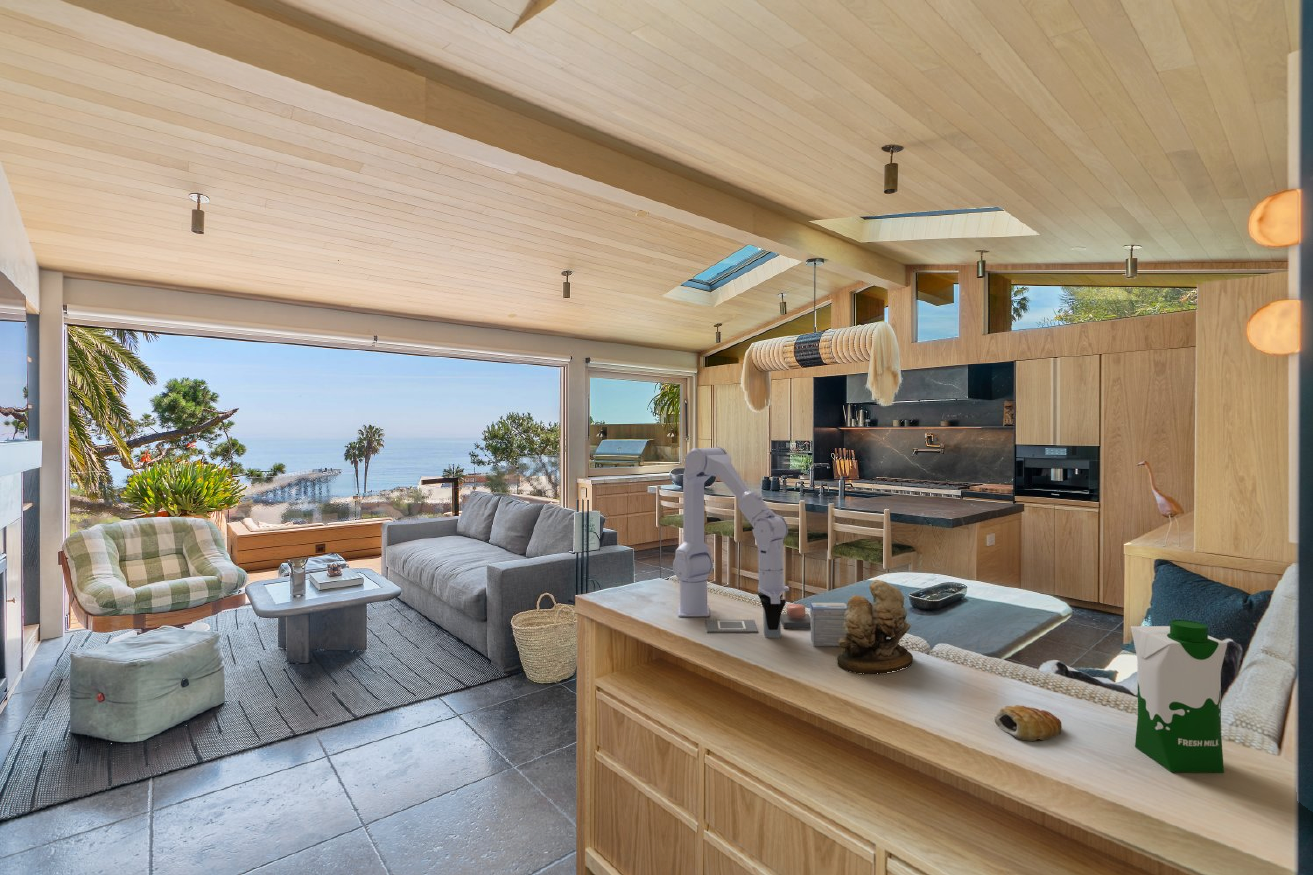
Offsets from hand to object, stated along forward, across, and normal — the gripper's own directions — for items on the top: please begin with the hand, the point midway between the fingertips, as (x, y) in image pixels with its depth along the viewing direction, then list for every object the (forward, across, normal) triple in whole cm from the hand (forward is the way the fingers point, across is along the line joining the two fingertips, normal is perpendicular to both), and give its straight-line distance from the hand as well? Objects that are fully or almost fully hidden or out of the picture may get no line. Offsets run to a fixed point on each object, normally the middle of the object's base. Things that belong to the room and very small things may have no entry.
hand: (771, 626), depth 147 cm
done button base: (+2, +8, -7) cm, 11 cm away
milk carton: (+2, -55, -50) cm, 74 cm away
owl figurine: (+2, -17, -19) cm, 26 cm away
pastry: (+2, -46, -34) cm, 57 cm away
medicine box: (+2, -6, -12) cm, 14 cm away
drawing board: (+2, +6, +9) cm, 11 cm away
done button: (0, +8, -7) cm, 11 cm away
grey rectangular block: (+2, 0, 0) cm, 2 cm away
